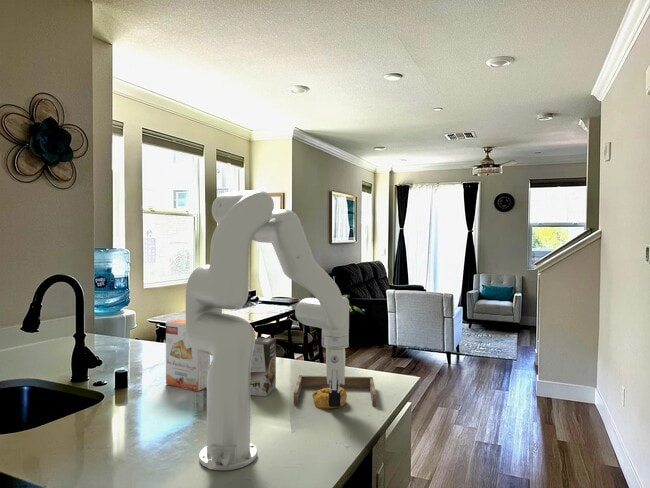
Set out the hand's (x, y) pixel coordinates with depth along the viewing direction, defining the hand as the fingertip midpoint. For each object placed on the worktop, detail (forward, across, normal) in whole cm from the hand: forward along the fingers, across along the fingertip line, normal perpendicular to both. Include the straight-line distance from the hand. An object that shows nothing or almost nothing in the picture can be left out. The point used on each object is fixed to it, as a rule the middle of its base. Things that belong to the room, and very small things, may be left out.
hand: (334, 405), depth 130 cm
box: (+2, +12, 0) cm, 12 cm away
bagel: (+2, +6, +2) cm, 7 cm away
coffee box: (+2, +15, +23) cm, 28 cm away
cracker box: (+2, +18, +48) cm, 51 cm away
